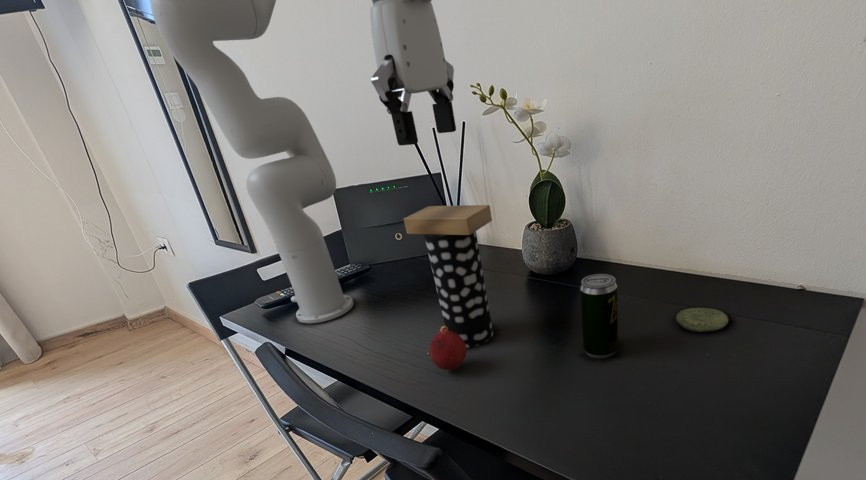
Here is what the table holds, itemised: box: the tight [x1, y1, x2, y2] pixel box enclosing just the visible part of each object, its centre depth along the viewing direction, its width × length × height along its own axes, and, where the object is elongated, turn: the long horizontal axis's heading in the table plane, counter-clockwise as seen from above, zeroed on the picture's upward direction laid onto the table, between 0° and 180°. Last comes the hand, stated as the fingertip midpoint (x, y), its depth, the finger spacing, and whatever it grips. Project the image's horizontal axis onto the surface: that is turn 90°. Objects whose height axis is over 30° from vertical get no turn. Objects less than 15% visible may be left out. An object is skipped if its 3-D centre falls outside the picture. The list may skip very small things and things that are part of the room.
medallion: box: [675, 307, 729, 333], centre depth 77 cm, size 8×8×1 cm
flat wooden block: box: [403, 204, 493, 235], centre depth 74 cm, size 12×7×2 cm, turn 61°
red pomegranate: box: [429, 325, 468, 372], centre depth 74 cm, size 6×6×8 cm
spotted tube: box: [423, 231, 494, 349], centre depth 80 cm, size 8×8×20 cm
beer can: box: [579, 273, 619, 359], centre depth 72 cm, size 5×5×12 cm
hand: (428, 138), depth 68 cm, fingers open, 9 cm apart
